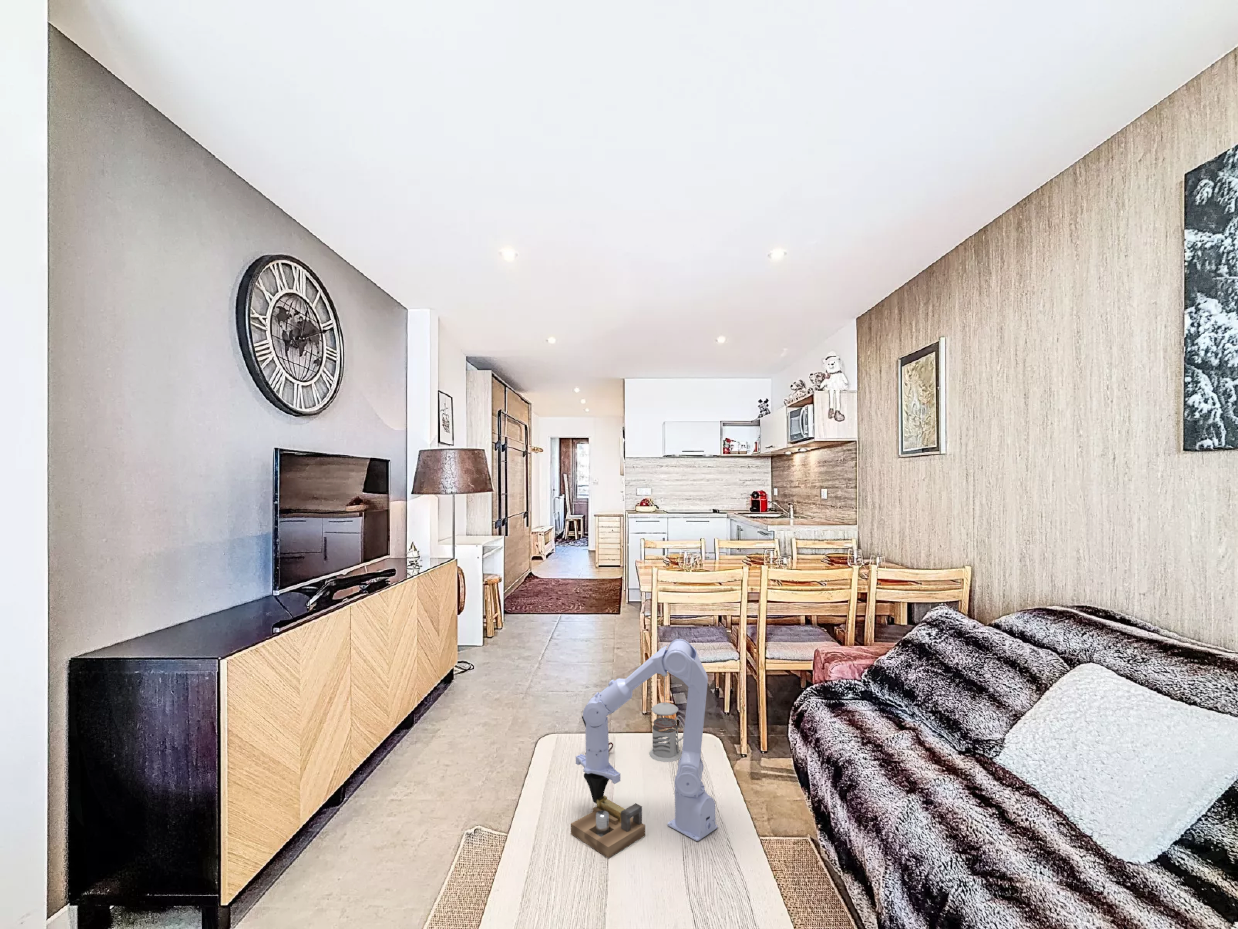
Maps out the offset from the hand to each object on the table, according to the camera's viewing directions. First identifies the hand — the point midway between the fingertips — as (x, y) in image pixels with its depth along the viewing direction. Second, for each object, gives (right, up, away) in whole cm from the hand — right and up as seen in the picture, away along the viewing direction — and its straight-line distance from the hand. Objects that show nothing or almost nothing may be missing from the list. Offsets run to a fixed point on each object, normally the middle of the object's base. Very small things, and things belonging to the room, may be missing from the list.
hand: (597, 801), depth 156 cm
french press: (+20, -4, +32) cm, 38 cm away
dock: (+3, -4, -8) cm, 9 cm away
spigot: (+1, -4, -10) cm, 10 cm away
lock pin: (+3, -1, -4) cm, 5 cm away
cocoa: (-1, -4, +33) cm, 33 cm away
